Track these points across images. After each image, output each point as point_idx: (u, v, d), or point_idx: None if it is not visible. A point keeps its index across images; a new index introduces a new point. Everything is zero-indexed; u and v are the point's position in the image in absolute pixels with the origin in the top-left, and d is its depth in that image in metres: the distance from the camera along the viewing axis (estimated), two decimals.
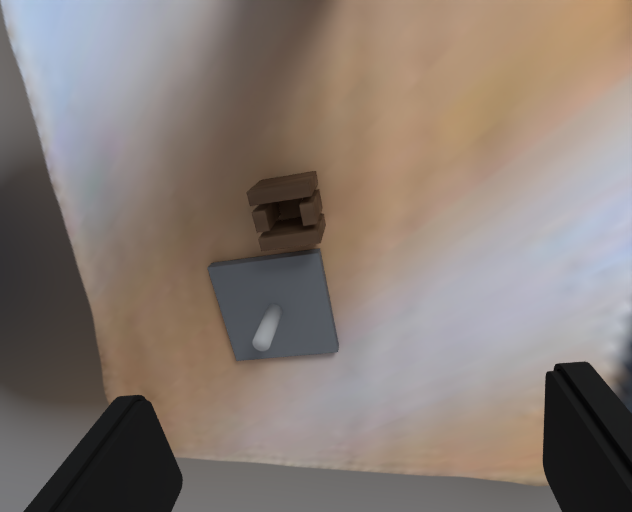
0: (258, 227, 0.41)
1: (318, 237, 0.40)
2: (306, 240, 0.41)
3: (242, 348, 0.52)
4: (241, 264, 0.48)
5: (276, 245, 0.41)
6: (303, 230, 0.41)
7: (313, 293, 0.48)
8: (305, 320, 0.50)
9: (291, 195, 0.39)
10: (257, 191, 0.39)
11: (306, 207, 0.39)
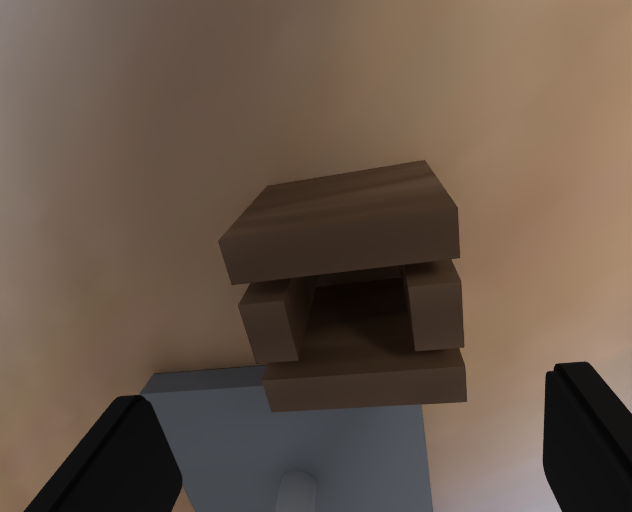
0: (261, 349, 0.12)
1: (462, 386, 0.12)
2: (418, 393, 0.12)
3: None
4: (220, 391, 0.19)
5: (319, 400, 0.13)
6: (405, 354, 0.13)
7: (395, 457, 0.20)
8: (370, 504, 0.22)
9: (383, 254, 0.11)
10: (257, 237, 0.11)
11: (433, 295, 0.11)
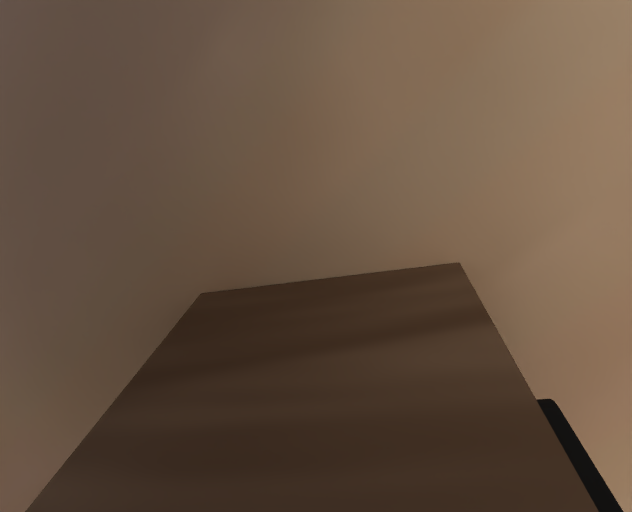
0: None
1: None
2: None
3: None
4: None
5: None
6: None
7: None
8: None
9: None
10: None
11: None
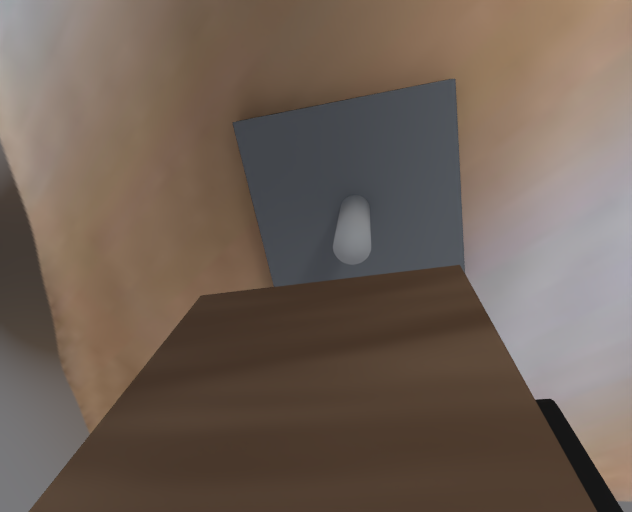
0: None
1: None
2: None
3: (290, 284, 0.30)
4: (298, 112, 0.25)
5: None
6: None
7: (434, 170, 0.25)
8: (411, 226, 0.27)
9: None
10: None
11: None
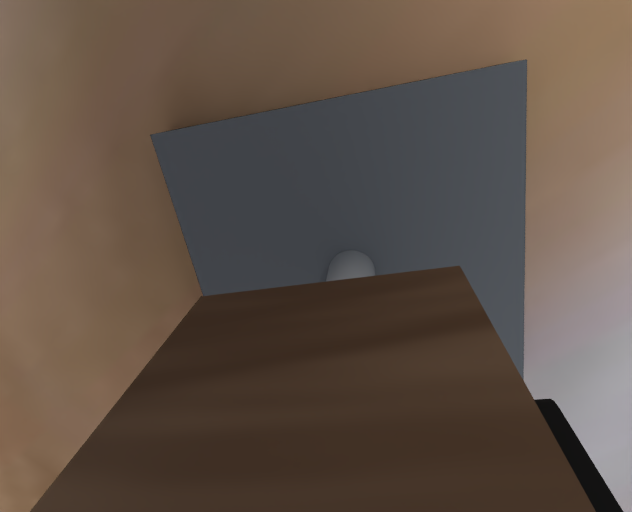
0: None
1: None
2: None
3: None
4: (257, 118, 0.15)
5: None
6: None
7: (482, 213, 0.15)
8: None
9: None
10: None
11: None
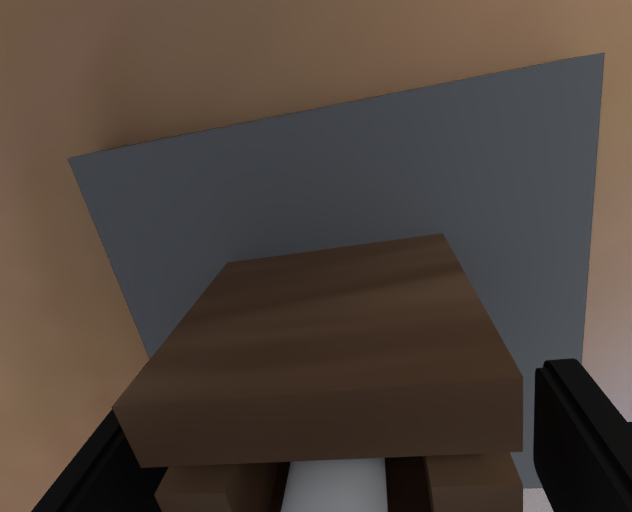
0: None
1: None
2: None
3: None
4: (212, 136, 0.11)
5: None
6: None
7: (527, 268, 0.11)
8: None
9: (388, 439, 0.06)
10: (175, 404, 0.06)
11: (474, 501, 0.06)
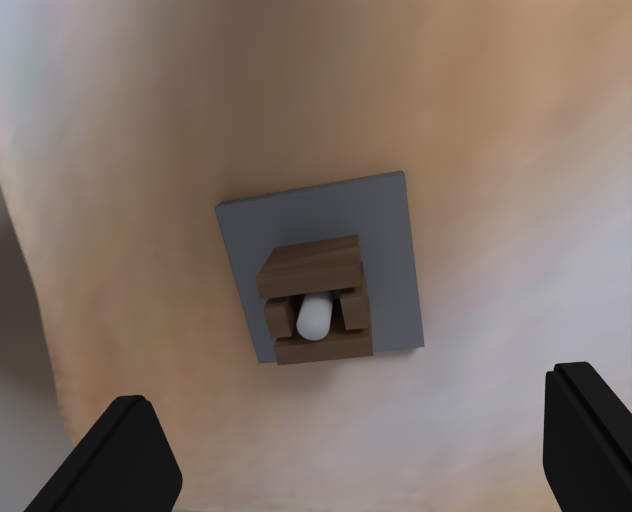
0: (273, 331, 0.26)
1: (369, 347, 0.25)
2: (349, 351, 0.26)
3: (268, 343, 0.33)
4: (271, 199, 0.29)
5: (301, 357, 0.26)
6: (343, 333, 0.26)
7: (390, 247, 0.29)
8: (373, 294, 0.30)
9: (327, 284, 0.24)
10: (272, 277, 0.24)
11: (351, 303, 0.24)
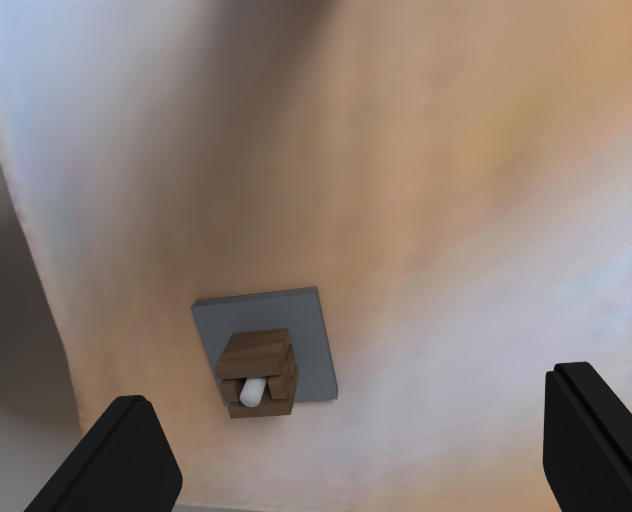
0: (227, 398, 0.40)
1: (288, 409, 0.39)
2: (275, 411, 0.40)
3: None
4: (229, 304, 0.42)
5: (246, 414, 0.40)
6: (273, 399, 0.40)
7: (310, 336, 0.43)
8: (300, 365, 0.44)
9: (259, 373, 0.38)
10: (224, 367, 0.38)
11: (274, 384, 0.38)
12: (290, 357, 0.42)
